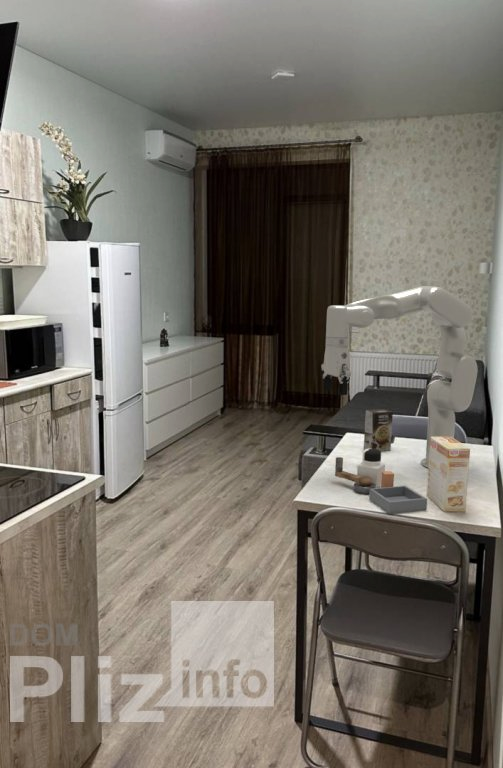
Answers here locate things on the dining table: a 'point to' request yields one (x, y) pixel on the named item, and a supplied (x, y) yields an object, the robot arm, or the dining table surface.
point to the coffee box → (378, 429)
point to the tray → (397, 499)
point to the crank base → (363, 488)
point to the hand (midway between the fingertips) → (334, 392)
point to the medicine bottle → (371, 466)
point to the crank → (352, 477)
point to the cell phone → (392, 439)
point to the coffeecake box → (448, 473)
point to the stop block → (387, 479)
